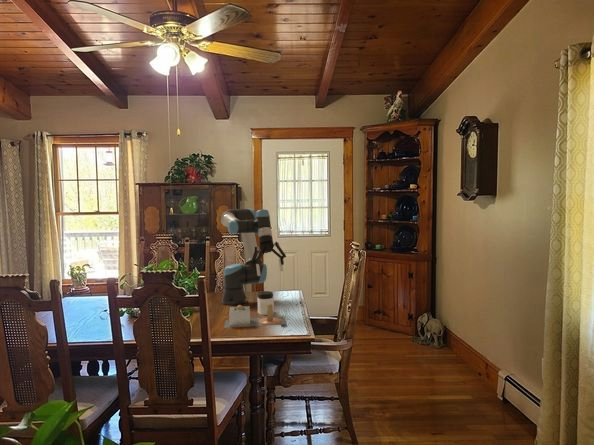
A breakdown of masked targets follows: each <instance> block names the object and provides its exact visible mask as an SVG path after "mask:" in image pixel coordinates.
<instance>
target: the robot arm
mask: <svg viewBox="0 0 594 445" xmlns="http://www.w3.org/2000/svg"><path fill="white" fill-rule="evenodd" d="M219 220H220V224H222V225H223V226H224V227H227V231H228V233H229V234H233V235H234V234H235V235H236V234H241V237H242V243H243V249H244V257H245V262H244V265H243V263H233V264H229V265H226V266H225V267H224V268H223V280H224V282H223V283H224V292H223V295H222V298H221V303H222V304H223V305H226V306H235V305H237V306H238V305H242V304H245V303H247V302H248V301H247V300H248V298H247V295H246V293H245V288H244V286H245V285H256V284H263V283H265V282H266V279H267V278H268V277H267V276H268V267H267V265H266V264H265V263H263V260H262V257H263V255H264V254H268V253H271V252H272V253H273V254H275V255H276V256H277V257H278V264H279V271H280V272H284V267H283V265H285V262H284V258H287V254H285V252H284V250H283V249H282V248H281V246H280V244H279V242H278V241H275V242H274V241H273V232H272V225H271V217H270V213H269V210H268V209H259V210H256V211H255V209H253V208H229V209H227V210H225V211H223V212H222V213H221V214H220V217H219ZM256 235H258V237H259V238H258V240H259V241H258V242H259V246H258V244H257V237H256ZM274 247H276V249H277V250H278V252H279V253H278V252H277V251H276V250H275V249H274Z"/></svg>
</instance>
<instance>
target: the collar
mask: <svg viewBox="0 0 594 445" xmlns="http://www.w3.org/2000/svg"><path fill="white" fill-rule="evenodd" d="M242 307H243V310H237V306H230V307H229V312H228V320H229V325H230V326H244V325H250V319H251V309H250V308H251V307H250V306H249V305H248V306H247V305H246V306H242Z"/></svg>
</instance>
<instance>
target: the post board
mask: <svg viewBox="0 0 594 445" xmlns="http://www.w3.org/2000/svg"><path fill="white" fill-rule="evenodd" d="M236 307H237V310H243V307H244V306H243V305H242V304H238V305H237V306H236ZM224 321H225V322H224V326H223V328H224V329H227V328H244V327H245V328H247V327H261V326H262V327H264V326H277V325H278V326H279V325H280V326H281V327H287V324H286V320H285V317H284V316H275V317H274V313H273V306H272V304H267V315H266V317H257V318H255V317H254V318H250V325H244V326H230V325H229V319H226V320H224Z"/></svg>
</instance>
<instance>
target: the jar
mask: <svg viewBox="0 0 594 445" xmlns="http://www.w3.org/2000/svg"><path fill="white" fill-rule="evenodd" d="M274 299H275V298H274V293H273V291H267V290H266V291H259V292H257V299H256V300H257V314H259V315H266V316H267V304H272V306H273V314H274V313H275V303H274V302H275V301H274Z"/></svg>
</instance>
